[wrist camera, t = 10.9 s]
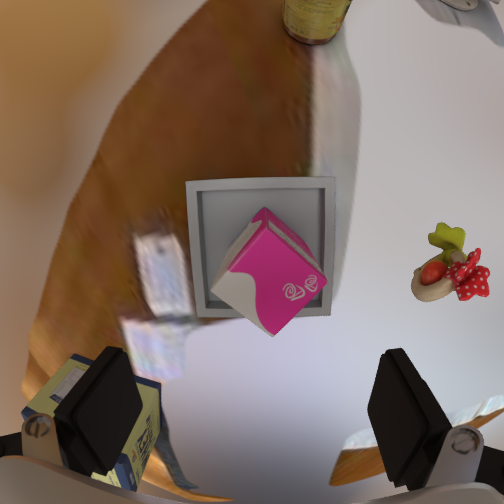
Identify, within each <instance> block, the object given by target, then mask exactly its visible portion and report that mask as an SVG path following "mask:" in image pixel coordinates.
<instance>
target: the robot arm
mask: <svg viewBox="0 0 504 504" xmlns="http://www.w3.org/2000/svg"><path fill="white" fill-rule="evenodd" d="M441 1H443V2H445V3H446V4H448V5H450V6H452V7H454V8H457V9H460V10H465V11H468V10H472V9H473V8H475V7H476V6H477V4H478V0H441ZM490 1H492V2H493V3H495V4H499V2H500V0H490ZM142 409H143V402H142V399H141V396H140V393H139V390H138V387H137V384H136V381H135V378H134V375H133V372H132V369H131V366H130V362H129V359H128V355H127V353H126V352H124V351H123V349H122V348H118V347H111V346H107V347H106V348H105V349H104V350H103V351H102V353H101V354H100V355H99V356H98V357H97V358H96V360H95V361H94V362H93V363H92V364H91V366H90V367H89V368H88V369H87V370H86V372H85V373H84V374H83V375H82V376H81V378H80V379H79V380H78V381H77V383H76V384H75V385H74V386H73V387H72V389H71V390H70V391H69V392H68V394H67V395H66V396H65V397H64V399H63V400H62V401H61V402H60V404H59V405H58V406H57V407H56V409H55V410H54V411H53V412H54V414H55V416H54V417H53V418H52V417H51V416H50V415H48V414H46V413H36V414H33V415H31V416H29V417H28V418H27V419H26V420H25V421H24V422H23V424H22V429H21V430H22V431H21V432H18V433H14V434H9V435H5V436H0V504H189V503H184V502H178V501H173V500H167V499H163V498H158V497H154V496H150V495H145V494H142V493H137V492H134V491H130V490H127V489H124V488H120V487H117V486H114V485H111V484H108V483H105V482H102V481H99V480H96V479H93V478H92V477H91V475H92V473H93V472H94V473H97V474H99V475H102V476H105V477H106V476H107V474H108V472H109V471H112V470H113V468H114V466H115V464H116V462H117V460H118V458H119V456H120V454H121V452H122V450H123V448H124V446H125V444H126V442H127V440H128V438H129V436H130V433H131V431H132V429H133V427H134V425H135V423H136V421H137V419H138V417H139V415H140V413H141V411H142ZM367 410H368V416H369V419H370V422H371V425H372V428H373V431H374V434H375V437H376V440H377V444H378V447H379V450H380V453H381V456H382V460H383V463H384V466H385V470H386V473H387V476H388V479H389V481H390V482H392V481H393V482H394V486H395V488H396V487H400V486H404V485H406V486H407V489H408V490H409V492H405V493H401V494H397V495H393V496H389V497H384V498H379V499H374V500H370V501H364V502H358V503H351V504H504V451H501V450H498V449H494V448H491V447H488V446H484V439H483V436H482V434H481V433H480V431H479V430H477V429H476V428H475V427H472V426H470V425H458V426H456V427H454V428H453V427H452V425H451V424H450V422H449V420H448V418H447V417H446V415H445V413H444V412H443V410H442V408H441V406H440V405H439V403H438V401H437V400H436V398H435V397H434V395H433V393H432V392H431V390H430V388H429V387H428V385H427V383H426V382H425V381H424V380H423V379H422V378H421V376H420V375H419V373H418V371H417V370H416V368H415V367H414V365H413V364H412V362H411V360H410V359H409V357H408V356H407V354H406V353H405V351H404V350H403V349H402V348H397V349H388V350H386V352H385V354H382V355H381V358H380V362H379V366H378V370H377V374H376V378H375V382H374V386H373V389H372V393H371V396H370V400H369V403H368V409H367Z"/></svg>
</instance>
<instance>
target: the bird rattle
mask: <svg viewBox="0 0 504 504" xmlns="http://www.w3.org/2000/svg"><path fill="white" fill-rule="evenodd" d="M464 239H465V231H464V230H463V229H462V228H459V227H455V228H450V227H449V226H448V225H447V224H445V223H438V225H437V227H436V231H435V233H430V234H429V235H428V240H429V243H430V244H431V245H434V246H436V247H439V248H442V249H443V250H444V251H443V252H442V253H441V254H439V255H437V256H435V257H434V258H432V259H430V260H429V261H427V262H426V263H425V264H424V265H423V266H421V267H419V268H417V269H416V270H415V271H414V277H413V279H412V284H411V289H412V292H413V294H414V296H415V297H416V298H417V299H418V300H420V301H423V302H431V301H435V300H438V299H440V298H442V297H444V296H446V295H448V294H449V293H451V292H452V291H456V292H457V295H458V297H459V300H460V301H466V300H469V299H470V298H471V297H473V296H474V295H479V296H483V297H487V296H488V295H489V286H488V283H487V278H488V277H489V275H490V271H489V269H488V268H486V267H483V266H476V264H477V262H478V261H479V259H480V255H481V250H480V248H477V249H476V250H475V251H474V252H470V253H469V255H468V257H467V256H466V255H465V254H464V253H463V252H462V248H463V245H464ZM448 267H450V268H448Z"/></svg>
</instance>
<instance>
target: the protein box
mask: <svg viewBox="0 0 504 504" xmlns="http://www.w3.org/2000/svg"><path fill="white" fill-rule="evenodd" d="M93 362H94V361H92V360H90V359H87V358H85V357H82V356H80V355H77V354H73V355H72V356H71V358H70V359H69V360H68V361H67V362H66V363H65V364H64V365H63V366H62V367H61V368H60V369H59V370H58V371H57V372H56V374H55V375H54V376H53V377H52V378H51V379H50V380H49V381H48V382H47V383H46V384H45V385H44V387H43V388H42V389H41V390H40V391H39V392H38V393H37V394H36V395H35V397H34V398H33V399H32V400H31V401H30V402H29V403H28V404H27V406H26V407H25V408H24V409H23V410H22V411H21V414H22V416H23V418H24V420H26V419H27V418H28V417H29V416H31V415H33V414H36V413H46V414H48V415H50V416H51V417H52V418H53V417H54V416H55V414H54V412H53V411H54V410H55V409H56V407H57V406H58V405H59V404H60V402H61V401H62V400H63V399H64V397H65V396H66V395H67V394H68V392H69V391H70V390H71V389H72V387H73V386H74V385H75V384H76V383H77V381H78V380H79V379H80V378H81V376H82V375H83V374H84V373H85V372H86V370H87V369H88V368H89V367H90V366H91V364H92V363H93ZM134 378H135V381H136V384H137V387H138V390H139V393H140V396H141V399H142V402H143V409H142V411H141V413H140V415H139V417H138V419H137V421H136V423H135V425H134V427H133V429H132V431H131V433H130V436H129V438H128V440H127V442H126V444H125V446H124V448H123V450H122V452H121V454H120V456H119V458H118V460H117V462H116V464H115V466H114V468H113V470H112V471H109V472H108V474H107V476H106V477H105V476H102V475H99V474H97V473H94V472H93V473H92V475H91V477H92V478H93V479H96V480H99V481H102V482H105V483H108V484H111V485H114V486H117V487H120V488H124V489H127V490H130V491H134V492H136V491H137V488H138V486H139V483H140V480H141V478H142V475H143V472H144V470H145V467H146V464H147V462H148V459H149V457H150V454H151V451H152V449H153V446H154V444H155V441H156V439H157V436H158V434H159V431H160V429H161V426H162V411H161V383H158V382H154V381H151V380H148V379H144V378H141V377H138V376H135V375H134Z"/></svg>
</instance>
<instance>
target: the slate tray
mask: <svg viewBox="0 0 504 504" xmlns="http://www.w3.org/2000/svg"><path fill="white" fill-rule="evenodd" d="M186 196H187V212H188V226H189V239H190V251H191V262H192V272H193V282H194V291H195V300H196V309H197V317H240V318H246V317H245V316H243V315H242V314H240V313H239V312H238V311H236V310H235V309H234V308H232V307H231V306H230V305H228V304H227V303H226V302H224V301H223V300H222V299H220V298H219V297H218V296H216V295H215V294H214V293H212V292H211V288H212V285H213V283H214V280H215V278H216V276H217V273H218V271H219V269H220V267H221V264H222V262H223V260H224V258H225V255H226V253H227V250H228V247H229V246H230V244H231V243H232V242H233V241H234V239H235V238H236V237H237V236H238V235H239V233H240V232H241V231H242V230H243V229H244V228H245V226H246V225H247V224H248V223H249V222H250V221H251V220H252V218H253V217H254V216H255V215H256V214H257V213H258V212H259V211H260V210H261V209H262V208H263V207H266V208H267V209H268V210H270V211H271V212H272V213H273V214H274V215H276V216H277V217H278V218H279V219H280V220H281V221H282V222H284V223H285V224H286V225H287V226H288V227H289V228H290V229H291V230H293V231H294V232H295V233H296V234H297V235H298V236H299V237H300V238H302V239H303V240H304V241H305V243H306V244H307V246H308V248H309V249H310V251H311V253H312V255H313V256H314V258H315V260H316V261H317V263H318V265H319V266H320V268H321V270H322V272H323V273H324V275H325V277H326V279H327V281H328V283H327V284H326V285H325V286H324V287H323V288H322V289H321V290H320V291H319V292H318V293H317V294H316V295H315V296H314V297H313V298H312V299H311V300H310V302H309V303H308V304H307V305H305V306H304V307H303V308H302V309H301V310H300V311H299V312H298V313H297V314H296V315H295V316H294V317H306V316H330V315H331V302H332V288H333V272H334V251H335V211H336V180H335V177H261V178H233V179H213V180H197V181H186Z"/></svg>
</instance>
